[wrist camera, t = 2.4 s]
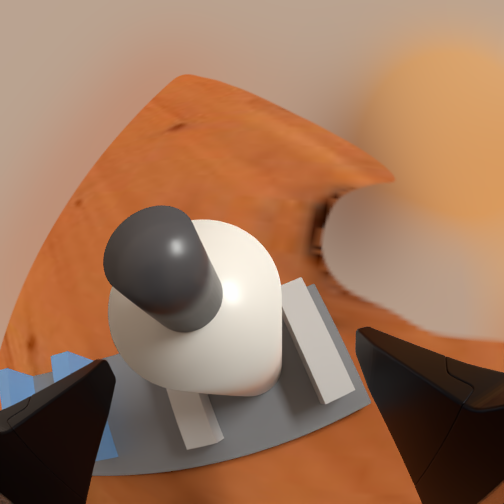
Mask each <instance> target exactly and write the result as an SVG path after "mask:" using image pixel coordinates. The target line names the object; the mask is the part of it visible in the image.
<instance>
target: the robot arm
mask: <svg viewBox="0 0 504 504" xmlns="http://www.w3.org/2000/svg"><path fill="white" fill-rule="evenodd" d="M356 355H357V358H358V361H359V363H360V366H361V369H362V372H363V374H364V377H365V380H366V383H367V386H368V388H369V390H370V393H371V395H372V397H373V399H374V401H375V403H376V405H377V407H378V409H379V411H380V413H381V415H382V417H383V419H384V421H385V423H386V425H387V427H388V429H389V431H390V433H391V435H392V437H393V439H394V441H395V444H396V446H397V448H398V450H399V452H400V454H401V456H402V459H403V461H404V463H405V465H406V467H407V470H408V472H409V474H410V476H411V478H412V481H413V483H414V485H415V488H416V490H417V493H418V495H419V497H420V500H421V502H422V504H504V373H503V372H498V371H494V370H490V369H486V368H482V367H478V366H474V365H470V364H467V363H464V362H461V361H458V360H455V359H452V358H450V357H446V358H445V356H444V355H441V354H438V353H436V352H433V351H430V350H428V349H425V348H422V347H420V346H417V345H414V344H412V343H409V342H407V341H404V340H401V339H399V338H396V337H394V336H391V335H388V334H386V333H383V332H381V331H378V330H376V329H373V328H371V327H364V328H360V329H357V331H356ZM115 384H116V378H115V375H114V373H113V371H112V369H111V367H110V365H109V363H108V361H107V360H105V359H97V360H95V361H93V362H91V363H89V364H88V365H86V366H84V367H82V368H80V369H79V370H77V371H75V372H73V373H71V374H70V375H68V376H66V377H64V378H62V379H61V380H59V381H57V382H55V383H53V384H51V385H50V386H48V387H46V388H44V389H42V390H40V391H39V392H37V393H35V394H33V395H32V396H29V397H27V398H26V399H24V400H22V401H20V402H18V403H16V404H14V405H12V406H10V407H7V408H5V409H3V410H1V411H0V504H86V500H87V495H88V490H89V486H90V481H91V477H92V473H93V469H94V465H95V461H96V457H97V453H98V450H99V446H100V443H101V439H102V436H103V432H104V429H105V426H106V422H107V419H108V416H109V412H110V407H111V402H112V398H113V393H114V388H115Z"/></svg>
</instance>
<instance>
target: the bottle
mask: <svg viewBox="0 0 504 504" xmlns="http://www.w3.org/2000/svg"><path fill="white" fill-rule="evenodd" d="M103 265H104V271H105V275H106V277H107V279H108V281H109V283H110V284H111V285H112V289H111V292H110V297H109V304H108V320H109V327H110V332H111V336H112V339H113V341H114V344H115V346H116V348H117V350H118V352H119V354H120V355H121V357H122V358H123V359H124V361H125V362H126V363H127V364H128V365H129V366H130V367H131V369H132V370H133V371H135V372H136V373H137V374H139V375H140V376H141V377H142V378H144V379H146V380H148V381H149V382H151V383H153V384H156V385H159V386H161V387H164V388H168V389H173V390H179V391H187V392H195V393H205V394H216V395H229V396H257V395H261V394H263V393H265V392H267V391H268V390H270V389H271V388H272V387H273V386H274V385H275V384H276V382H277V381H278V379H279V377H280V374H281V369H282V293H281V283H280V279H279V274H278V271H277V269H276V266H275V264H274V262H273V260H272V258H271V256H270V255H269V253H268V252H267V251H266V249H265V248H264V247H263V245H262V244H261V243H260V242H258V241H257V240H256V239H255V238H254V237H253V236H251V235H250V234H249V233H247V232H246V231H244V230H242V229H240V228H238V227H236V226H233V225H231V224H228V223H224V222H220V221H214V220H192V221H191V219H190V218H189V217H188V216H187V215H186V214H185V213H184V212H183V211H181V210H179V209H177V208H174V207H170V206H153V207H149V208H145V209H143V210H140V211H138V212H136V213H134V214H133V215H131V216H130V217H128V218H127V219H126V220H125V221H123V222H122V223H121V224H120V225H119V226H118V227H117V229H116V230H115V231H114V233H113V234H112V236H111V237H110V239H109V241H108V243H107V246H106V249H105V253H104V259H103Z"/></svg>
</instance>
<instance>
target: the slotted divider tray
mask: <svg viewBox="0 0 504 504" xmlns="http://www.w3.org/2000/svg"><path fill="white" fill-rule="evenodd" d="M281 293H282V369H281V374H280V377H279V379H278V381H277V382H276V384H275V385H274V386H273V387H272V388H271V389H270V390H268V391H267V392H265V393H263V394H261V395H257V396H229V395H216V394H205V393H195V392H187V391H179V390H173V389H168V388H164V387H161V386H159V385H156V384H153V383H151V382H149V381H148V380H146V379H144V378H142V377H141V376H140V375H139V374H137V373H136V372H135V371H133V370H132V369H131V367H130V366H129V365H128V364H127V363H126V362H125V361H124V359H123V358H122V357H121V355H120V354H117V355H113V356H110V357H106V358H103V359H105V360H107V361H108V363H109V365H110V367H111V369H112V371H113V373H114V375H115V378H116V384H115V388H114V393H113V398H112V402H111V407H110V412H109V416H108V419H107V422H106V426H105V429H104V432H103V436H102V439H101V443H100V446H99V450H98V453H97V457H96V461H95V465H94V469H93V473H92V476H118V475H138V474H150V473H160V472H168V471H175V470H182V469H188V468H193V467H199V466H204V465H209V464H213V463H218V462H222V461H226V460H230V459H234V458H238V457H241V456H245V455H248V454H252V453H255V452H258V451H262V450H265V449H268V448H271V447H274V446H277V445H280V444H282V443H285V442H288V441H290V440H293V439H296V438H298V437H301V436H303V435H306V434H308V433H311V432H313V431H315V430H318V429H320V428H322V427H324V426H327V425H329V424H331V423H333V422H335V421H337V420H339V419H341V418H343V417H345V416H347V415H349V414H351V413H353V412H355V411H357V410H359V409H361V408H363V407H365V406H366V405H368V404H370V403H371V401H370V398H369V396H368V394H367V392H366V390H365V387H364V385H363V383H362V381H361V379H360V376H359V374H358V372H357V370H356V368H355V366H354V364H353V361H352V359H351V357H350V355H349V353H348V351H347V349H346V347H345V345H344V342H343V340H342V338H341V336H340V334H339V332H338V330H337V328H336V326H335V324H334V322H333V320H332V318H331V316H330V314H329V312H328V310H327V308H326V306H325V304H324V302H323V300H322V298H321V296H320V294H319V292H318V290H317V288H316V286H315V284H312V285H310V286H308V287H306V285H305V283H304V281H303V279H302V277H300V278H298V279H296V280H293V281H291V282H288V283H286V284H283V285H281ZM51 362H52V371H53V372H49V373H45V374H41V375H36V376H30V375H27V374H24V373H20V372H17V371H14V370H11V369H8V368H6V369H2V370H0V397H1V404H2V410H3V409H5V408H7V407H10V406H12V405H14V404H16V403H18V402H20V401H22V400H24V399H26V398H27V397H29V396H32V395H33V394H35V393H37V392H39V391H40V390H42V389H44V388H46V387H48V386H50V385H51V384H53V383H55V382H57V381H59V380H61V379H62V378H64V377H66V376H68V375H70V374H71V373H73V372H75V371H77V370H79V369H80V368H82V367H84V366H86V365H88V364H89V363H91V362H93V360H90V359H87V358H85V357H82V356H79V355H76V354H74V353H71V352H68V351H67V352H63V353H60V354H56V355H53V356H51Z"/></svg>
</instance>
